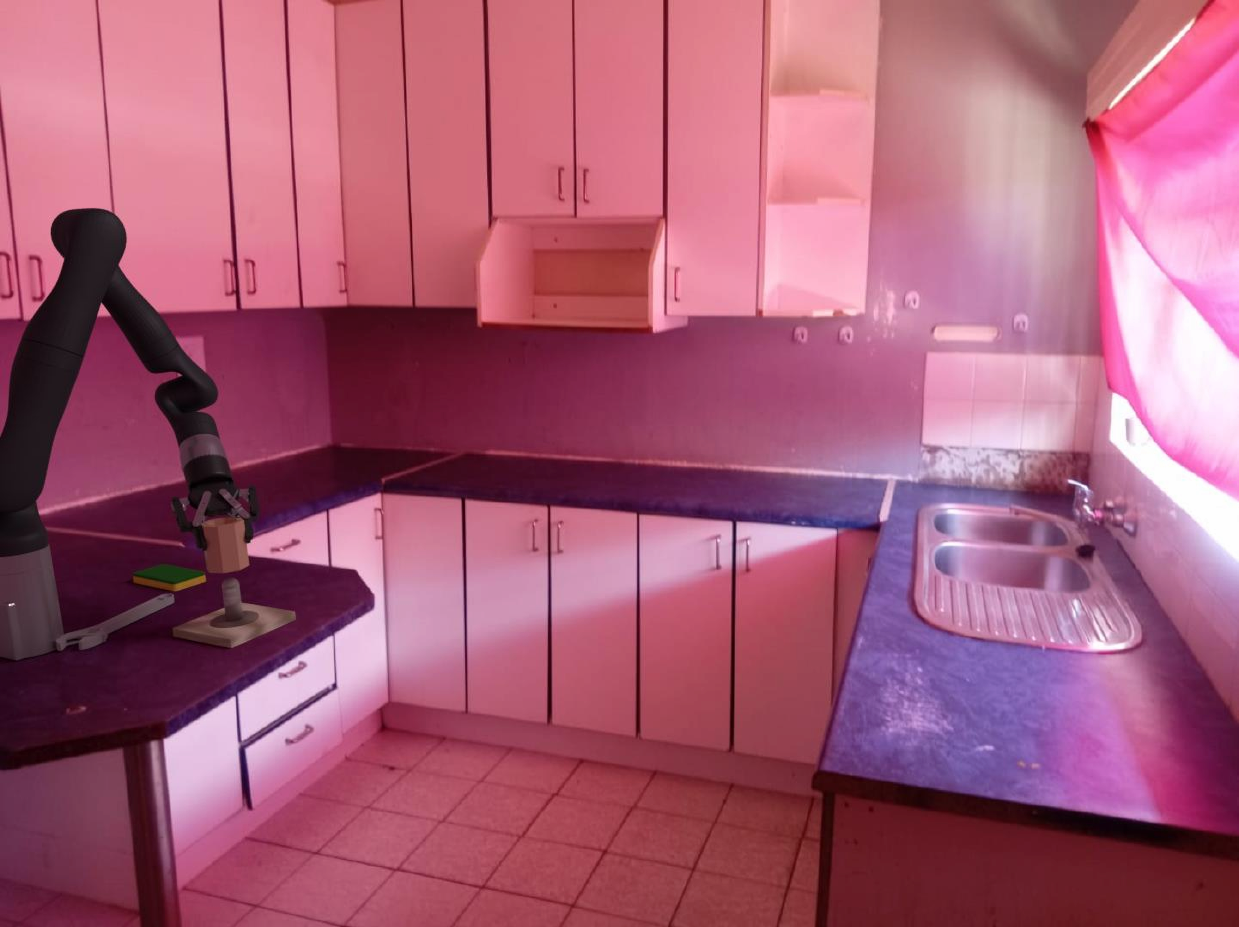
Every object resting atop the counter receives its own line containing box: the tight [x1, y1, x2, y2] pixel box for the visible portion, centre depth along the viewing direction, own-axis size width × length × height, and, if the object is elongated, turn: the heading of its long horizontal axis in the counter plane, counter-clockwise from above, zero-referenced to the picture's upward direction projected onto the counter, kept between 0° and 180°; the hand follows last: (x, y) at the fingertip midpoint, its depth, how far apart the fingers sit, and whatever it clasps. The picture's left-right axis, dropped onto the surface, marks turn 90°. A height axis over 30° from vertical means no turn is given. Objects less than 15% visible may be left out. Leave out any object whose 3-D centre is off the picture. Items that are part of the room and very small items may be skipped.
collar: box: [201, 516, 250, 574], centre depth 163 cm, size 6×6×8 cm
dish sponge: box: [132, 563, 207, 592], centre depth 194 cm, size 7×14×2 cm, turn 59°
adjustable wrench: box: [56, 593, 175, 652], centre depth 169 cm, size 25×6×2 cm, turn 161°
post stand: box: [172, 577, 297, 649], centre depth 165 cm, size 14×14×9 cm
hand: (226, 544), depth 162 cm, fingers closed on collar, 6 cm apart
